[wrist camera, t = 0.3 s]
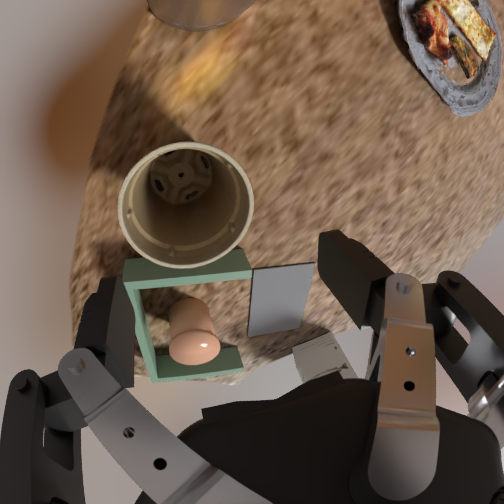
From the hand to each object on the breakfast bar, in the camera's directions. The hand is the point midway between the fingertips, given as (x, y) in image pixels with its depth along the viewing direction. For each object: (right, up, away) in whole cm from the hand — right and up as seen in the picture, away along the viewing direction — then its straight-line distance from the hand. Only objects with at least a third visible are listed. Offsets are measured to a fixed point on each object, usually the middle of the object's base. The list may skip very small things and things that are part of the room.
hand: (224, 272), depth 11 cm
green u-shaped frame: (-7, -7, +25) cm, 26 cm away
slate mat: (+5, -6, +28) cm, 29 cm away
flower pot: (-6, +8, +15) cm, 18 cm away
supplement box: (+11, -16, +37) cm, 42 cm away
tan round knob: (-7, -7, +25) cm, 26 cm away
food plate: (+28, +31, +11) cm, 43 cm away
